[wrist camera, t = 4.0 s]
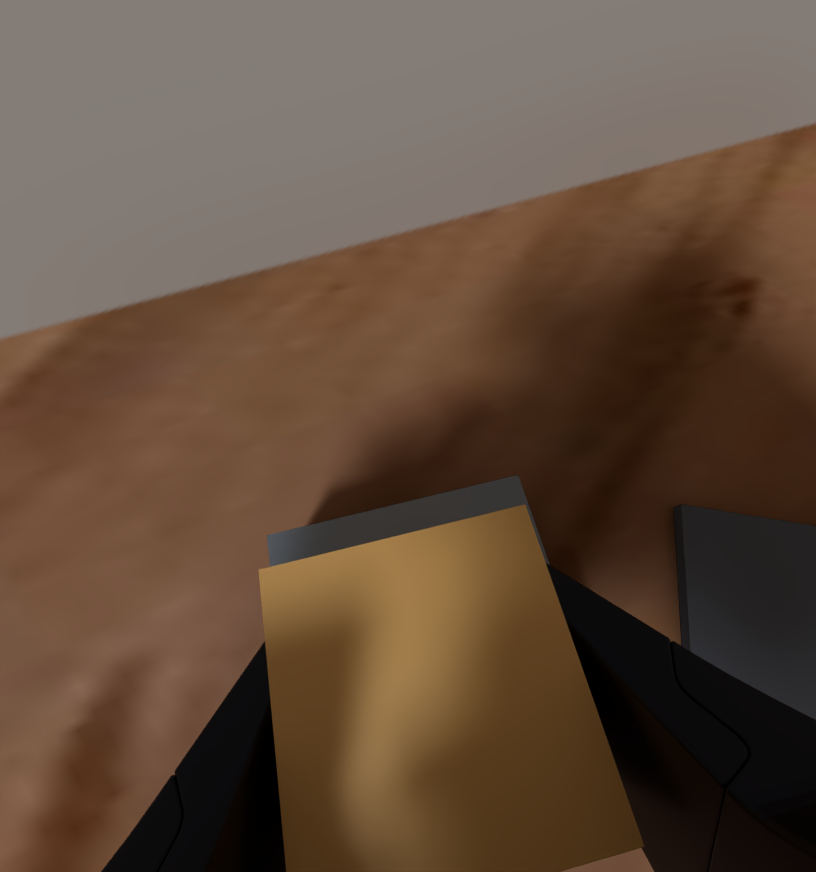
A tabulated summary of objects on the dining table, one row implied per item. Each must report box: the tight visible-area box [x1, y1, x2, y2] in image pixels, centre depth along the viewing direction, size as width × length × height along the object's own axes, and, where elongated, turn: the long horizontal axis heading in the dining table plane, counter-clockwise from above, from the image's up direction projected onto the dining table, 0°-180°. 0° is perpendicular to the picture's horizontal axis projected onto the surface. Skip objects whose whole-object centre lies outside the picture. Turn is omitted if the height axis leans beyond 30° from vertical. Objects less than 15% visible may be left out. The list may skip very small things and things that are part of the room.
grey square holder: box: [267, 475, 550, 567], centre depth 13 cm, size 8×8×3 cm
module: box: [259, 505, 645, 872], centre depth 10 cm, size 4×4×10 cm
